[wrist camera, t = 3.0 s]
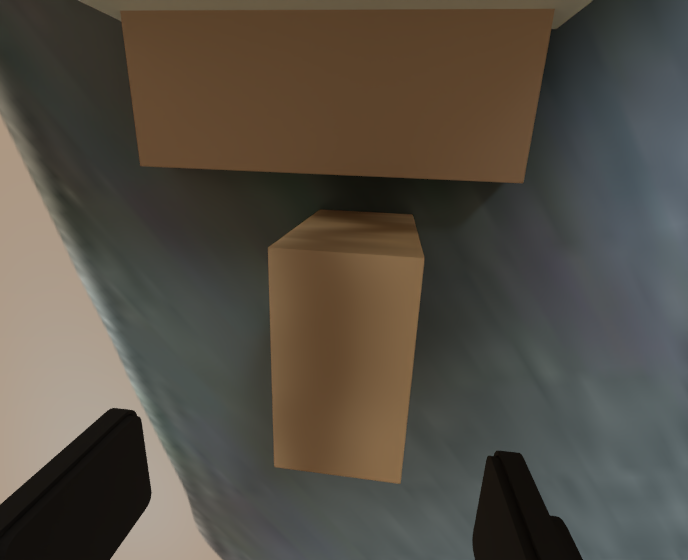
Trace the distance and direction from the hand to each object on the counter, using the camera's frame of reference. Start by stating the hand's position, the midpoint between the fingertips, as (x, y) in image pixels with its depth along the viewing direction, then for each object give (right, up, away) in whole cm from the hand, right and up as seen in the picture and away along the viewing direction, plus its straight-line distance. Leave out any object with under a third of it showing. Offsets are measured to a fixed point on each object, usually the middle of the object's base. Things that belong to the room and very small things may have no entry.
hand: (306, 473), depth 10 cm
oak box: (+2, +5, +12) cm, 13 cm away
